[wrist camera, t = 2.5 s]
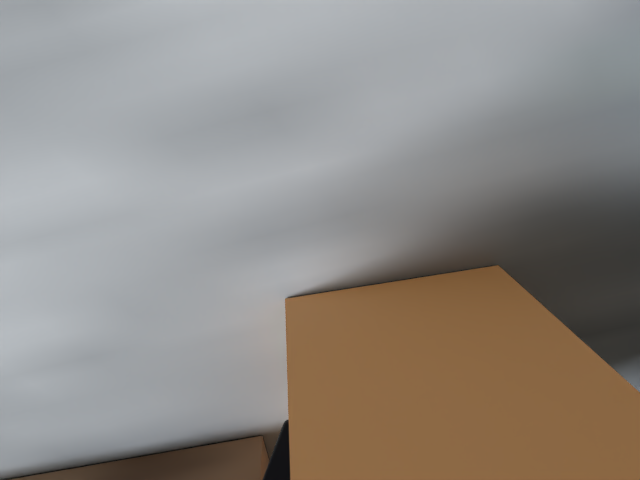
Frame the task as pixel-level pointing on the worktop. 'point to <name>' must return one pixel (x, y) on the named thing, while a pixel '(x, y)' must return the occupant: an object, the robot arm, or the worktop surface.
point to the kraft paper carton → (451, 386)
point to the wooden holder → (179, 465)
